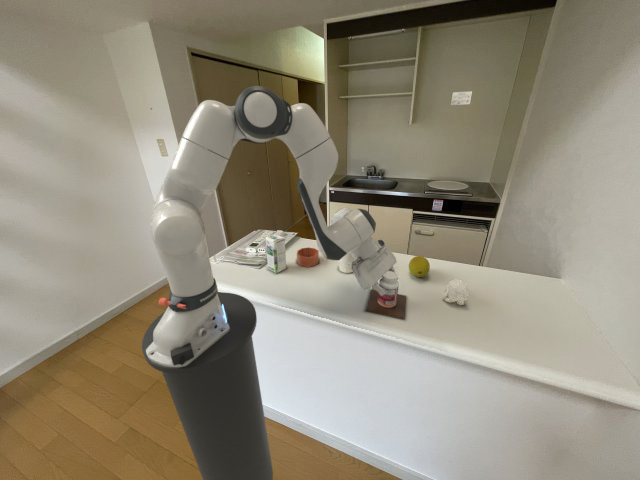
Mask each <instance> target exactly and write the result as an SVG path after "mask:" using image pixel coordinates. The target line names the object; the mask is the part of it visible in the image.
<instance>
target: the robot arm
mask: <svg viewBox="0 0 640 480" xmlns="http://www.w3.org/2000/svg"><path fill="white" fill-rule="evenodd" d="M274 139H277V140H280V141H282V142H283V143H284V144H285V146H287V148H288V149H289V151H290V152H291V153H290V154H292V156H293V158H294V160H295V162H296V164H297V167H298V173H299V178H298V180H297V182H296V186H297V187H296V188H297V191H298V194H299V197H300V201H301V203H302V206H303V209H304V211H305V214H306V217H307V219H308V221H309V224H310V226H311V229H312V232H313V234H314V238H315V241H316V244H317V247H318V251H319V252H320V253H321V255H322V256H323V257H324V258H325V260H329V261H339V260H340V259H341V258H343V257H344V256H345V255H346V254H347V253H348V252H350V253H351V255H352V256H353V258H354V259H355V261H354V262H352V268H351V269H352V271H353V272H352V274H353V275H354V278H355V279H356V282H357V283H358V285H359V287H360V288H361V289H362V290H364V291H366V290H369V289H373V290H376V291H377V292H379V294H380V295H381V296H382V295H384V294H385V293H386V290H385V288H381V287H380V286H379V282H378V281H380V279H381V278H382V276H383V275H384V274H385V273H386V272H387V271H392V272H394V273H396V269H395V267H394V266H395V265H396V264H397V262H398V261H397V257H396V256H395V254H394V253H393V251H392V250H391V249H390V248H389V246H388V245H387V242H386V241H385V239H383V238H381V239H374V238H373V237H372V236H373V235H374V234H375V232H376V228H377V227H376V226H377V223H376V221H375V219H374V217H373V216H372V215H371V214H370V212H369V211H368V210H366V209H363V208H356V209H353V210H352V209H350V207H343V208H340V209H339V210H337V211H336V212H335V213H334V214H333V215H332V216H331V219H330V222H331V225H329V226H328V225H327V222H326V220H325V217H324V214H323V210H322V208H321V206H320V197H321V193H322V191H323V190H324V188H325V187H326V185H327V184H328V183H329V181H330V180H331V178H333V175H335V173H336V170H337V167H338V163H339V151H338V150H337V147H336V145H335V142H334V141H333V138H332V137H331V135H330V133H329V130H328V129H327V127H326V125H325V124H324V122H323V121H322V119H321V118H320V117H319V115H318V114H317V113H316V111H315V110H314V108H313V107H311V105H309V104H308V103H303V102H299V103H295V104H293V105H292V104H290V103H289V102H288V101H287V100H285V99H283V98H282V97H281V96H279V95H278V94H276V92H274V91H272V90H271V89H269V88H268V87H265V86H263V85H252V86H249V87H247V88H245V89H244V90H243V91H242V92H241V93H240V94H239V95H238V97H237V99H236V101H235V105H227V104H225V103H223V102H220V101H218V100H213V99H205V100H203V101H202V102H200V103H199V104H198V106H197V107H196V109H195V110H194V112H193V113H192V115H191V116H190V118H189V120H188V122H187V124H186V126H185V128H184V131H183V132H182V135H181V137H180V141H179V143H178V146H177V148H176V151H175V153H174V156H173V158H172V161H171V163H170V166H169V168H168V170H167V173H166V174H165V177H164V179H163V182H162V184H161V186H160V188H159V190H158V193H157V195H156V197H155V200H154V202H153V204H152V207H151V213H150V222H149V230H150V231H149V232H150V235H151V238H152V241H153V244H154V246H155V249H156V252H157V254H158V257H159V259H160V261H161V264H162V266H163V269H164V272H165V275H166V279H167V282H168V285H169V288H170V290H169V296H168V298H166V297H161V298H159V300H158V305H159V306H164V307H167V308H166V310H165V311H164V312H165V313H164V312H163V313H164V315H163V316H162V318H161V320H160V321H159V323H158V324H157V326H156V328H155V329H154V332H153V340H154V341H153V342H152V344H151V345H150V346H149V347H148V348H147V349H146V354H147V357H148V358H149V359H150V360H151V361H152V362H154V363H156V364H159V365H162V366H165V367H171V368H178V367H184V366H187V365H188V364H190V363H191V362H192V361H193V360H195V359H196V358H197V357H198V356H199V355H201V354H202V353H203V352H204V351H206V350H207V349H208V348H209V347H210V346H212V345H213V344H214V343H215V342H216V341H218V340H219V339H220V338H221V337H222V336H224V335H225V334H226V333H227V332H229V330H230V327H229V324H228V323H227V321H228V316H227V314H226V312H225V311H224V307H223V304H222V305H221V303H220V300H219V297H218V294H217V293H219V290H218V285H217V281H216V278H215V277H214V274H213V270H212V265H211V260H210V254H209V246H208V241H207V235H206V229H205V223H204V221H203V218H202V212H203V210H204V208H205V206H206V204H207V203H208V201H209V199H210V198H211V197H212V195H213V193H214V192H215V191H216V190H217V189H218V187H219V184H220V182H221V179H222V177H223V174H224V172H225V171H226V168H227V165H228V162H229V160H230V158H231V155H232V153H233V151H234V149H235V147H236V145H237V143H238V142H240V141H243V142H247V143H251V144H258V145H260V144H266V143H269V142H271V141H272V140H274ZM355 248H356V249H355ZM352 250H353V251H352ZM397 280H398V281H399V276H397Z"/></svg>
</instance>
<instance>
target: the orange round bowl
mask: <svg viewBox="0 0 640 480" xmlns="http://www.w3.org/2000/svg"><path fill="white" fill-rule="evenodd" d="M319 252H320V250H319V249H317V248H315V247H302V248H300V249H298V250H297V251H296V263H297V264H298V265H299V266H300V267H305V268H309V267H315V266H316V265H318V264H319V261H320V257H319V256H320V253H319Z"/></svg>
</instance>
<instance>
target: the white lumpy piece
mask: <svg viewBox="0 0 640 480" xmlns="http://www.w3.org/2000/svg"><path fill="white" fill-rule="evenodd" d="M469 292H470V291H469V287H468V285H467V283H465V282H464V281H463V280H462V279H458V278H456V279H452V280H451V281H450V280H449V282H448V284H447V286H446V291H445V297H447V298H444V301H445V302H447V303H450V304H451V303H455V302H456V303H457V305H460V306H464V305H465V301H467V300H468V297H469V295H470V293H469Z"/></svg>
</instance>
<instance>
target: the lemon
mask: <svg viewBox="0 0 640 480" xmlns="http://www.w3.org/2000/svg"><path fill="white" fill-rule="evenodd" d="M430 267H431V265H430V262H429V260H428V258H426V257H424V256H422V255H416V256H413V257H412V258H411V259H410V261H409V262H408V271H409V272H410V274H411V275H412V276H414V277H416V278H424V277H426V276H427V275H428V274H429V272H430V269H431V268H430Z"/></svg>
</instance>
